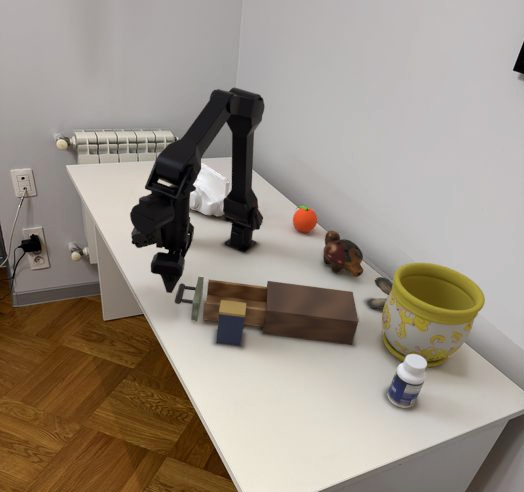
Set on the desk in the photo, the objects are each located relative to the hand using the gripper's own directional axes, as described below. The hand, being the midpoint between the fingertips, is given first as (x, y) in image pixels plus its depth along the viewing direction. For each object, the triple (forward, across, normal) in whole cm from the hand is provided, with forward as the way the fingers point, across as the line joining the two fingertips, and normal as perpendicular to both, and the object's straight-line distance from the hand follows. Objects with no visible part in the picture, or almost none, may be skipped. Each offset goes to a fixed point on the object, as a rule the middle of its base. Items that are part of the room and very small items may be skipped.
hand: (172, 280), depth 115 cm
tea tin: (+4, +13, +14) cm, 19 cm away
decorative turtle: (+4, -22, +40) cm, 46 cm away
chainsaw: (+4, -50, -4) cm, 50 cm away
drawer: (+3, +5, +13) cm, 14 cm away
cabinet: (+4, +4, +30) cm, 31 cm away
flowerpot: (+4, +9, +54) cm, 55 cm away
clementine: (+4, -40, +31) cm, 51 cm away
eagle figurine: (+4, -6, +50) cm, 51 cm away
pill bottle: (+4, +25, +48) cm, 54 cm away
